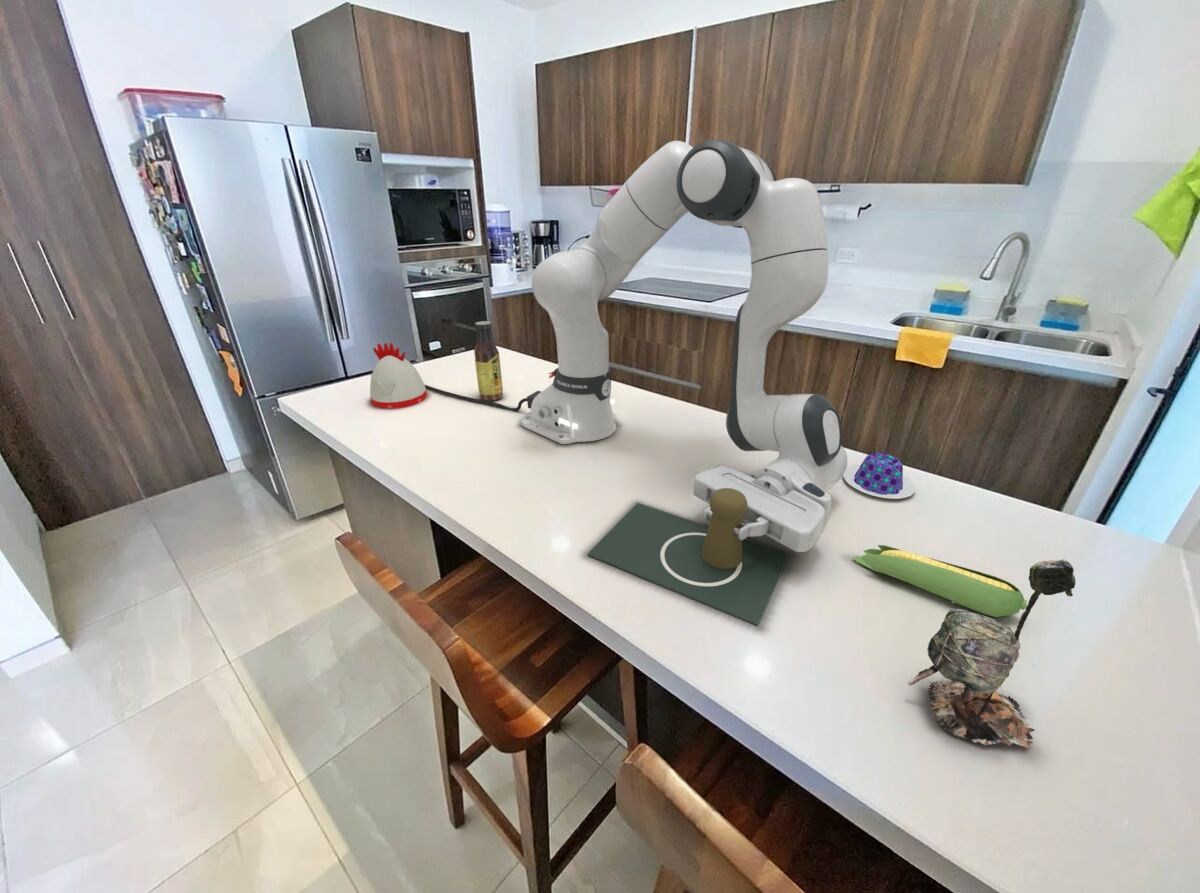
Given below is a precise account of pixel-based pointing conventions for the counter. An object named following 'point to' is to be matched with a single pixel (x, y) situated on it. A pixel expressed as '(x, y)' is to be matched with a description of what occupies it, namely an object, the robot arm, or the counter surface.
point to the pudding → (880, 477)
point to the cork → (724, 529)
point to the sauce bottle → (487, 363)
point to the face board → (691, 562)
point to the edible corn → (947, 581)
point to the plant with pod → (985, 666)
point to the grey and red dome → (395, 380)
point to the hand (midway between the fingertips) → (722, 525)
